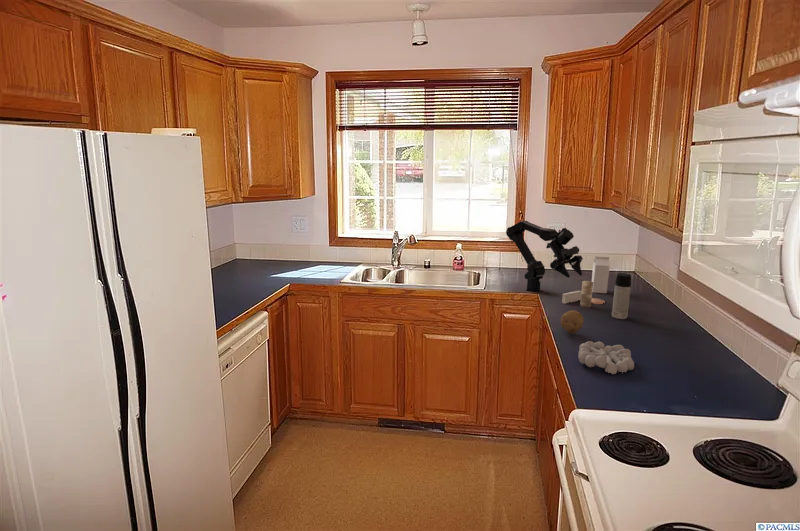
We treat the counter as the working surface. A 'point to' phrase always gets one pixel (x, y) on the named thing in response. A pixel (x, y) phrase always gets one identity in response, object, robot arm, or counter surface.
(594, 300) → the terracotta coaster
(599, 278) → the milk carton
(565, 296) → the off-white long flat block
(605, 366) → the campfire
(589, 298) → the ash post
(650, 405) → the counter surface
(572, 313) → the natural sponge
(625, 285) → the spray can
